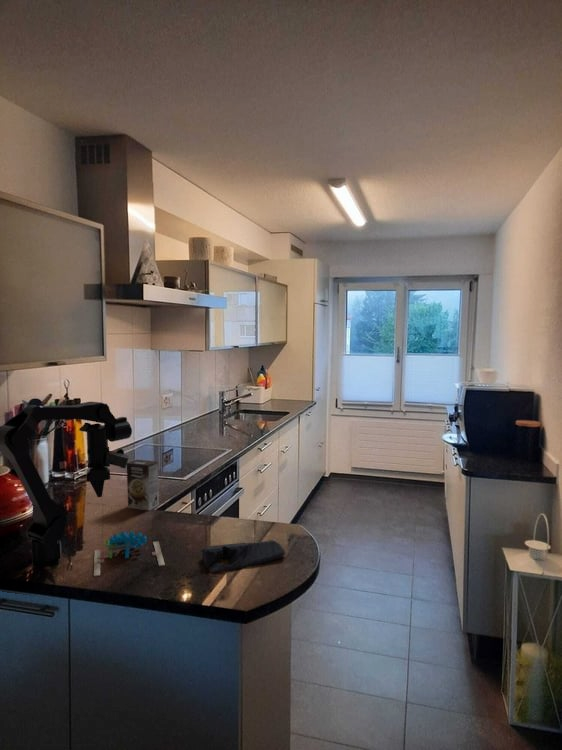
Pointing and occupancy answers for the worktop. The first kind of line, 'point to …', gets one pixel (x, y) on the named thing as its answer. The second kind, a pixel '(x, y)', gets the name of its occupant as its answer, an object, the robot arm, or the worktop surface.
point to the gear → (125, 542)
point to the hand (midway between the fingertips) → (99, 496)
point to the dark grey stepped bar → (241, 555)
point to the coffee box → (142, 484)
